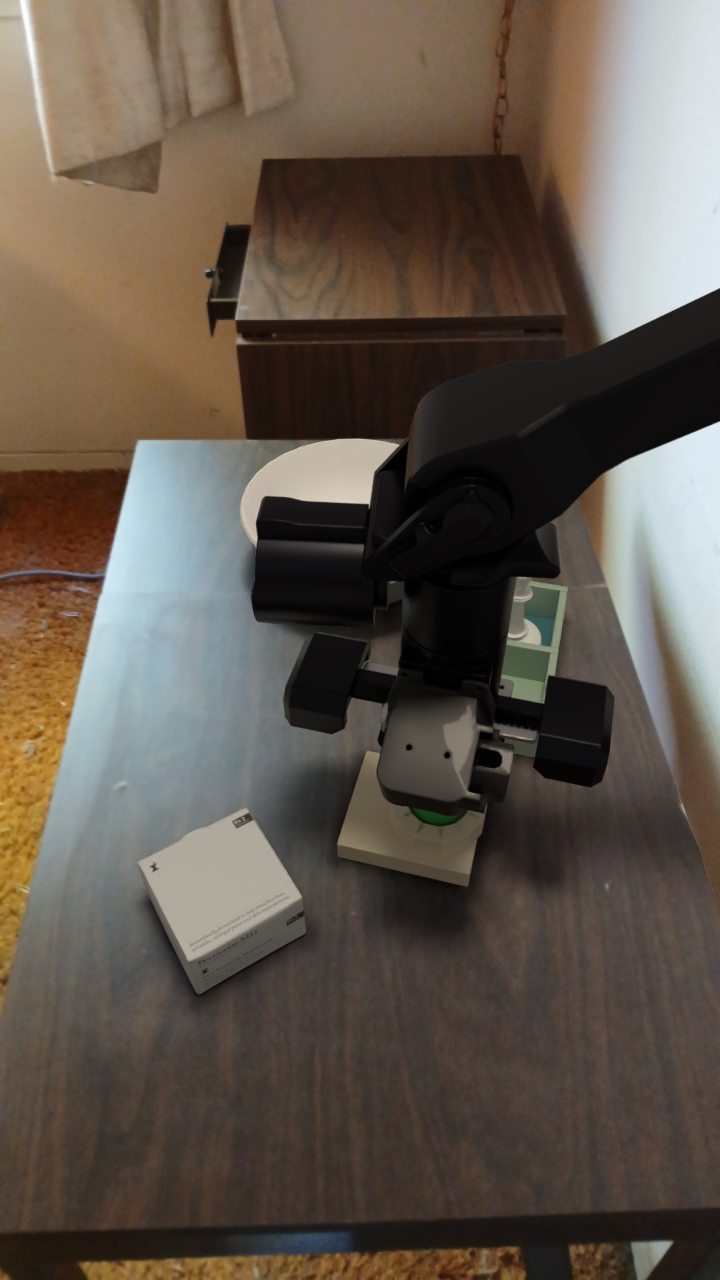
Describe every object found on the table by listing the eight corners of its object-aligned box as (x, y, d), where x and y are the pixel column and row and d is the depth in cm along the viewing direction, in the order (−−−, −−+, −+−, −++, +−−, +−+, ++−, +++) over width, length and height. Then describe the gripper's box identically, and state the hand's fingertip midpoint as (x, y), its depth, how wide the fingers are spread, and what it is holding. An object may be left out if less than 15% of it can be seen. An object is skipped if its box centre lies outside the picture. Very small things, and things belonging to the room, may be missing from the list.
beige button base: (490, 790, 64) (495, 761, 62) (471, 888, 59) (475, 861, 56) (366, 763, 66) (366, 735, 63) (337, 857, 61) (335, 829, 58)
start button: (468, 785, 61) (470, 771, 59) (459, 830, 58) (461, 815, 57) (417, 775, 61) (418, 760, 60) (405, 818, 59) (406, 804, 58)
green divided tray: (471, 606, 77) (475, 571, 74) (560, 621, 76) (568, 586, 73) (437, 738, 67) (440, 704, 64) (539, 759, 66) (547, 725, 63)
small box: (198, 999, 54) (185, 964, 50) (148, 898, 59) (133, 859, 55) (309, 935, 57) (305, 896, 53) (254, 843, 61) (246, 802, 58)
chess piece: (468, 640, 73) (478, 548, 66) (507, 611, 76) (521, 519, 68) (514, 673, 71) (530, 580, 64) (553, 642, 73) (573, 549, 66)
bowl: (254, 659, 73) (243, 586, 67) (245, 518, 86) (235, 446, 80) (476, 636, 75) (485, 563, 69) (435, 501, 88) (439, 429, 82)
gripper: (237, 697, 44) (265, 859, 55) (626, 776, 40) (570, 932, 51) (304, 552, 51) (317, 721, 62) (638, 608, 47) (587, 776, 59)
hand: (439, 785), depth 58 cm, fingers closed
